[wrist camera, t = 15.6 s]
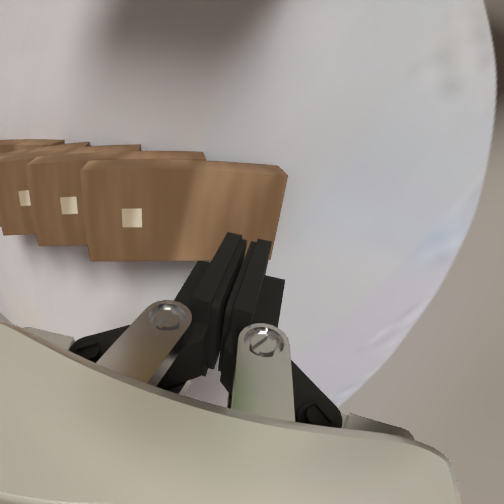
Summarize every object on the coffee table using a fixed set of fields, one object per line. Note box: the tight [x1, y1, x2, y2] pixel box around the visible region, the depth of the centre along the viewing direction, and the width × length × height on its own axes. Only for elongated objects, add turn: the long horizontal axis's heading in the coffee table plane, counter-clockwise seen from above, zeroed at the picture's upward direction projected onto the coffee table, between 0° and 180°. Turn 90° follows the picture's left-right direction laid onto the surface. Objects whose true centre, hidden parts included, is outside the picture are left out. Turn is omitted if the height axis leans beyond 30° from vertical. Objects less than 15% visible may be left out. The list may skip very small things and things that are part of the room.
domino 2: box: [0, 145, 141, 235], centre depth 15 cm, size 2×5×10 cm
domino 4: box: [80, 159, 288, 261], centre depth 15 cm, size 2×5×10 cm
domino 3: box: [26, 151, 206, 246], centre depth 15 cm, size 2×5×10 cm
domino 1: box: [0, 139, 64, 154], centre depth 18 cm, size 2×5×10 cm
